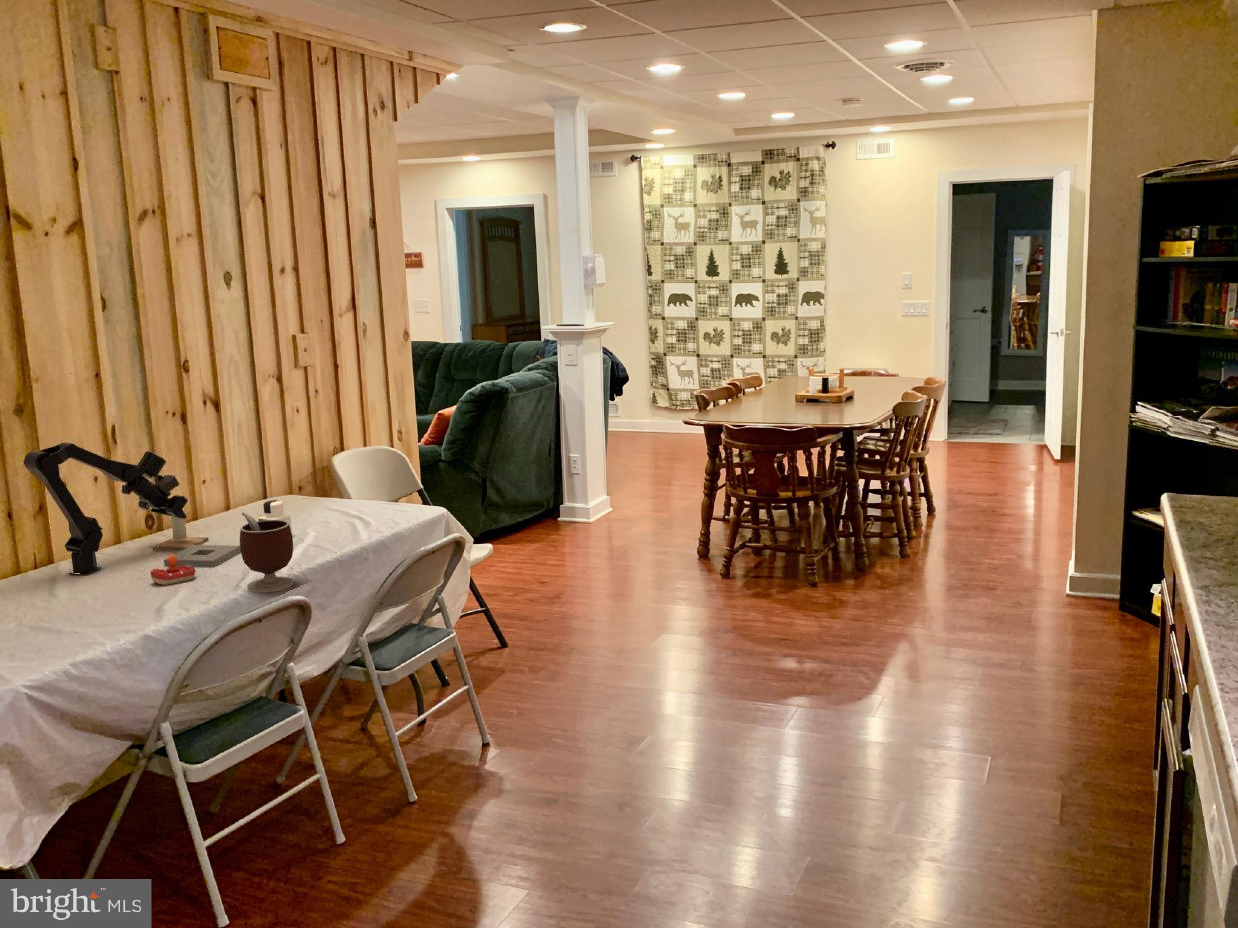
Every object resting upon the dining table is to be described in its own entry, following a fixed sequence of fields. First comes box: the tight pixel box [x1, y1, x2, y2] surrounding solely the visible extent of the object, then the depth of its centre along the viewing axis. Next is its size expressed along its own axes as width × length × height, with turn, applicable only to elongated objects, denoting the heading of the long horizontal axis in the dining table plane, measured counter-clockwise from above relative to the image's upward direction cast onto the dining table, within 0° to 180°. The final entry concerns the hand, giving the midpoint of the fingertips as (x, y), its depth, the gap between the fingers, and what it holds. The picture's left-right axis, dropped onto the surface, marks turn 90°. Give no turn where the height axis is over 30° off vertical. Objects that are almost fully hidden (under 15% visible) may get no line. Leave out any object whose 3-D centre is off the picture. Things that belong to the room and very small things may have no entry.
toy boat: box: [150, 554, 196, 586], centre depth 303 cm, size 8×12×8 cm, turn 128°
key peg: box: [170, 507, 188, 540], centre depth 339 cm, size 4×4×13 cm
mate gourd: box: [239, 512, 295, 593], centre depth 295 cm, size 16×14×20 cm
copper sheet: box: [152, 536, 209, 552], centre depth 341 cm, size 12×12×1 cm
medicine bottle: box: [258, 499, 293, 534], centre depth 346 cm, size 7×7×12 cm
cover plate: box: [163, 544, 241, 568], centre depth 325 cm, size 16×16×2 cm
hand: (181, 517), depth 340 cm, fingers closed on key peg, 4 cm apart
